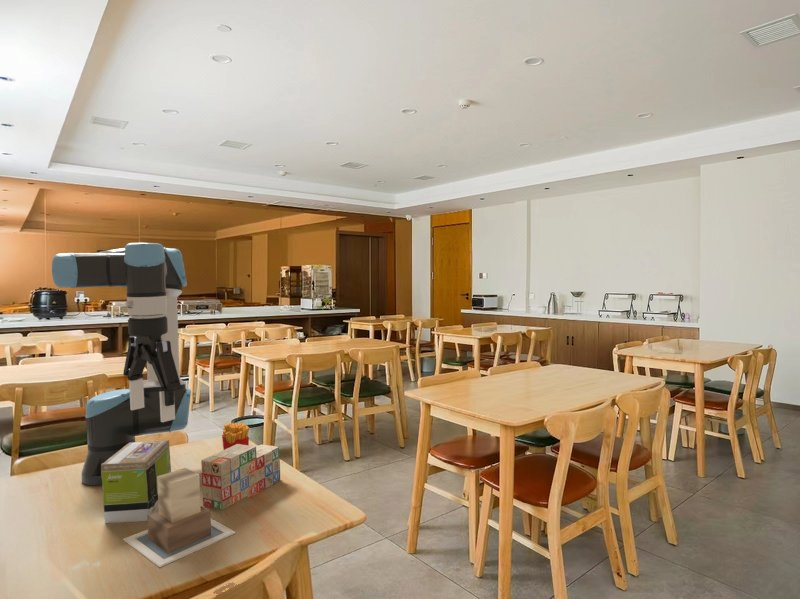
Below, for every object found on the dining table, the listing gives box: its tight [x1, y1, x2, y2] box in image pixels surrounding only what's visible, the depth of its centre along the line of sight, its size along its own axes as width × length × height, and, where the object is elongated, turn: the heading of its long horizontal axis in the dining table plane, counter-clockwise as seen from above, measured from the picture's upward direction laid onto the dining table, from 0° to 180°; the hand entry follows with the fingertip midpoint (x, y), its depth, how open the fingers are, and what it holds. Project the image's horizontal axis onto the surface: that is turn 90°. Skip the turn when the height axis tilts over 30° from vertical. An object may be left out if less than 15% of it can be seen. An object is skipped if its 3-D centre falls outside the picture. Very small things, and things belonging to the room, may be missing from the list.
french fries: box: [221, 422, 250, 451], centre depth 146 cm, size 9×4×13 cm, turn 60°
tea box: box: [101, 439, 172, 524], centre depth 121 cm, size 15×10×15 cm
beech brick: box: [157, 467, 201, 523], centre depth 107 cm, size 6×6×8 cm
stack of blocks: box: [200, 444, 281, 511], centre depth 129 cm, size 21×6×12 cm, turn 155°
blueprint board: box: [123, 518, 236, 569], centre depth 107 cm, size 16×16×1 cm
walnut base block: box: [147, 505, 212, 553], centre depth 107 cm, size 9×9×5 cm
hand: (152, 414), depth 110 cm, fingers open, 13 cm apart
